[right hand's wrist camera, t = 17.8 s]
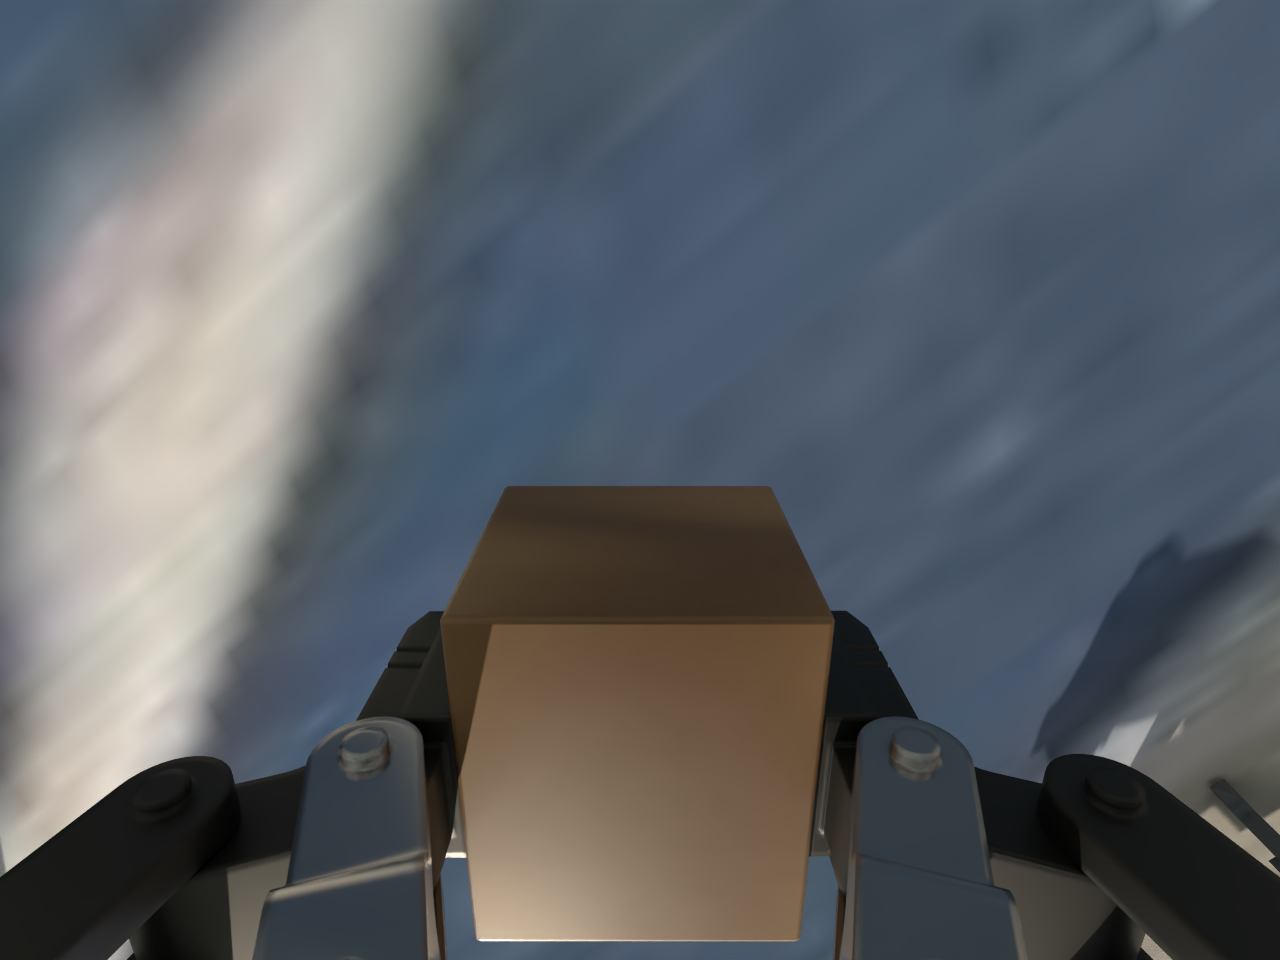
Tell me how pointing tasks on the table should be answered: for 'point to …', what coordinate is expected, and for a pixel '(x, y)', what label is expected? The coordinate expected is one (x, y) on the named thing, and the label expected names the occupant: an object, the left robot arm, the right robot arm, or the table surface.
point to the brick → (637, 714)
